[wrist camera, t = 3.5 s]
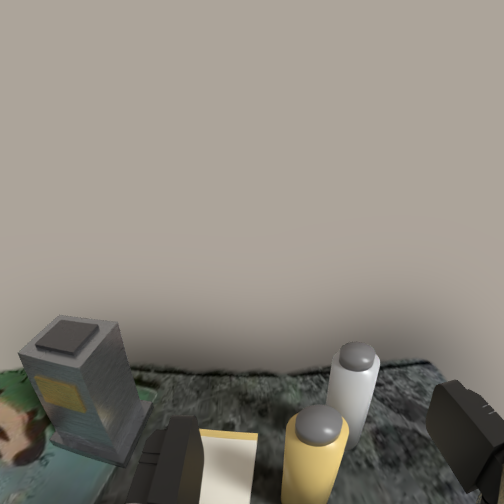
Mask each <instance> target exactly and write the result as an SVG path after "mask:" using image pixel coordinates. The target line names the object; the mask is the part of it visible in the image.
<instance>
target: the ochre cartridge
mask: <svg viewBox="0 0 504 504" xmlns="http://www.w3.org/2000/svg"><path fill="white" fill-rule="evenodd" d="M348 435H349V427H348V424H347V422H346V420H345V419H344V418H343V417H342V416H341V414H340V413H339V412H338V411H337V410H336V409H334V408H332V407H330V406H327V405H311V406H308V407H306V408H304V409H302V410H301V411H300V412H299V413H297V414H295V415H294V416H293V417H292V418H291V419H290V420H289V422H288V424H287V427H286V439H285V453H284V466H283V479H282V490H281V503H282V504H327V501H328V499H329V496H330V493H331V490H332V487H333V484H334V481H335V478H336V475H337V472H338V469H339V466H340V462H341V459H342V456H343V453H344V449H345V446H346V442H347V439H348Z"/></svg>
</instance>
